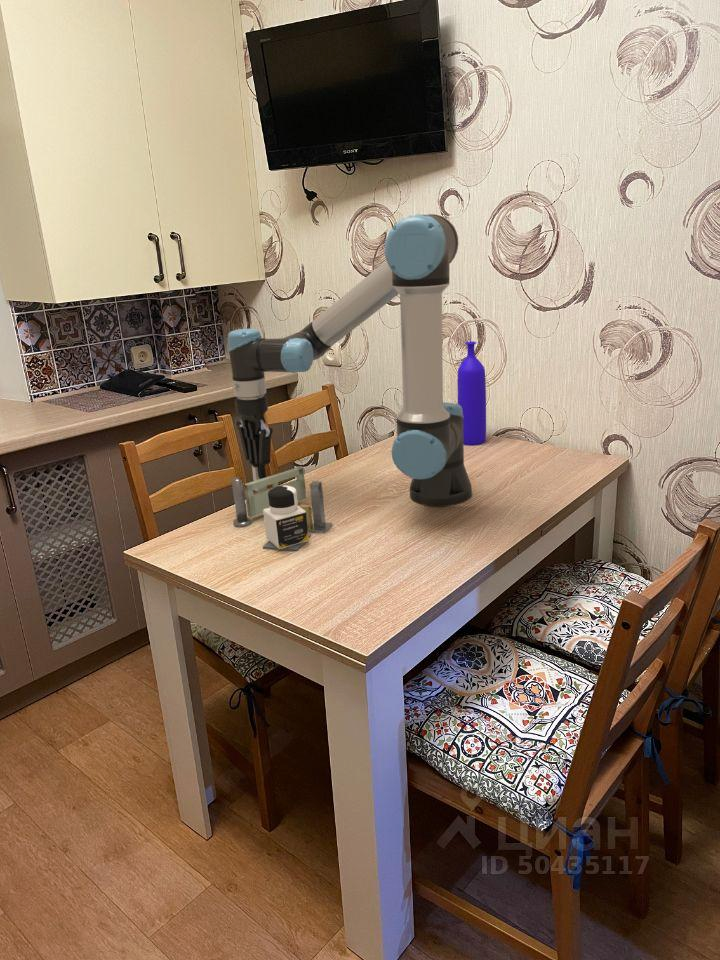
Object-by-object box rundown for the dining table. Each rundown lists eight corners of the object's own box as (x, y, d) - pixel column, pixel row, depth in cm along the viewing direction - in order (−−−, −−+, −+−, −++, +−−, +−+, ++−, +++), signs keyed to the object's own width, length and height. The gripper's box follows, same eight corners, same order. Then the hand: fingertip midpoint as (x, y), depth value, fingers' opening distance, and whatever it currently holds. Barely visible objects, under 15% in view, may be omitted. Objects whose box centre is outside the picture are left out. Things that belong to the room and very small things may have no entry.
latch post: (332, 525, 161) (328, 479, 157) (325, 533, 157) (321, 486, 153) (308, 523, 163) (304, 478, 159) (301, 531, 159) (296, 485, 155)
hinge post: (255, 520, 167) (249, 476, 163) (247, 527, 163) (240, 482, 159) (238, 518, 168) (232, 475, 165) (230, 526, 165) (223, 481, 161)
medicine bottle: (279, 550, 149) (273, 497, 145) (266, 539, 155) (259, 488, 151) (309, 541, 152) (304, 489, 148) (295, 530, 158) (289, 480, 154)
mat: (311, 535, 156) (311, 534, 156) (297, 551, 149) (296, 549, 149) (278, 533, 159) (278, 531, 159) (262, 548, 152) (262, 546, 152)
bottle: (458, 446, 210) (455, 345, 200) (459, 438, 218) (456, 340, 208) (486, 445, 209) (485, 343, 199) (486, 437, 217) (485, 339, 207)
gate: (251, 517, 166) (247, 485, 163) (248, 515, 167) (243, 484, 164) (306, 498, 175) (303, 467, 173) (303, 497, 176) (300, 466, 174)
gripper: (222, 395, 169) (234, 487, 177) (251, 403, 160) (262, 500, 168) (249, 389, 174) (259, 479, 182) (279, 397, 164) (288, 491, 172)
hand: (260, 489), depth 175 cm, fingers closed
